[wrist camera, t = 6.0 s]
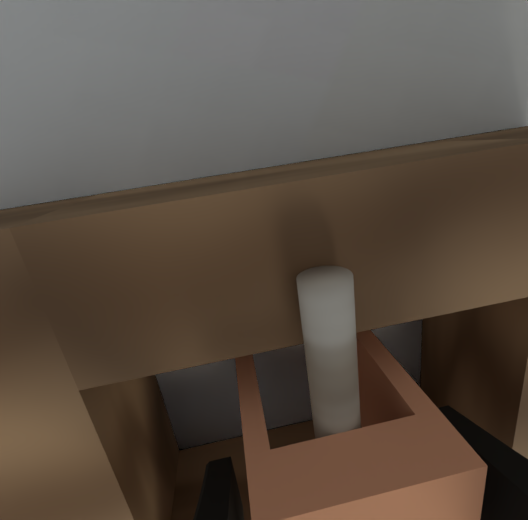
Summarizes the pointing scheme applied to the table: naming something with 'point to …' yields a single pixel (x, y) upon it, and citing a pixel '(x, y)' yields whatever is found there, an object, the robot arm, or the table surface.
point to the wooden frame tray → (252, 311)
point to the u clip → (364, 455)
